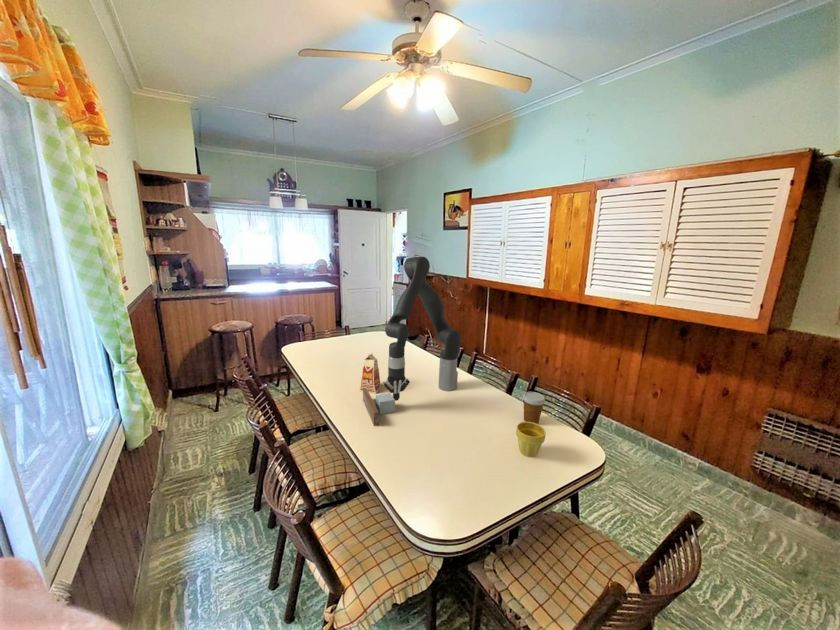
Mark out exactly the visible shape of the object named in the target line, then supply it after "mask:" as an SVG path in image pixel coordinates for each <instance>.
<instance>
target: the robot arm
mask: <svg viewBox="0 0 840 630" xmlns="http://www.w3.org/2000/svg"><path fill="white" fill-rule="evenodd" d="M430 267H431V266H430V261H429V260H428V258H427V257H425V256H412V257H409V258H406V259H405V261H404V262H403V268H404V272H405V274H406V277H407V278H408V279H409V281H410V282H409V284H408V286H407V287H406V289H405V290H404V291H403V292H402V293H401V295H400V297H399V298H398V300H397V301H398V302H397V303H396V307H395V310H394V312H393V314H392V315H391V317H390V319H389V320H388V321H387V323H386V324H385V327H384V328H385V330H384V331H385V335H386V336H387V337H388V338H393V339H397V340H396V341H393V342H391V343H390V344H389V346H388V360H387V361H388V365H387V367H388V368H387V370H388V371H387V372H388V373H387V377H386V381H383V382H382V384H383V386H384V387H385V388H386V390H387V391H388V392H389V393H390V394H392V396H393V398H394V399H395V402H396V401H399V399H400V397H401V396H400V395H401V394H400V393H402V392H404V391H405V390H406V388H407V387H408V385H409V384H410V380H409V378H407V377H406V376H405V375H406V373H405V372H406V367H405V366H406V360H405V359H406V358H405V347H406V344H407V339H408V337H409V331H410V330H409V326H408V325H407V324H405V323H401V321H404V320H408V319H409V318H410V317H411V313H412V310H413V307H414V304H415V301H416V299H417V296H418V297H419V299H420V300H421V303H422V305H423V307H424V309H425V311H426V314H427V315H428V318H429V319H430V321H431V323H432V324H433V327H434V329H435V332H436V335H437V338H438V340H439V341H440V342H441V344H444V345H445V347H444V349H443V350H441V351H440V352H439V367H438V388H439V389H440V390H442V391H446V392H451V391H453V390H455V389H457V388H458V379H459V378H458V375H459V372H458V370H457V368H458V367H457V366H458V355H459V352H460V347H461V336H462V335H461V333H460V331H459V330H458V329H456V328H452V327H451V326H449V324H448V322H447V320H446V317H445V305H444V303H443V299H442V297H441V296H440V294H439V292H438V291H436V289H435V288H434V287H432V285H430V284H429V283H428V281H427V280H426V279H427V276H428V274H429V271H430ZM389 385H391V387H392V388H391V387H390V386H389Z"/></svg>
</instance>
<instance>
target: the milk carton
mask: <svg viewBox="0 0 840 630" xmlns="http://www.w3.org/2000/svg"><path fill="white" fill-rule="evenodd" d="M378 363H379V362H378V358H376V357H375V355H373V352H371V353H369V354H368V355H367V357H365V359H364V362H363V366H362V372H361V373H362V375H361V380H360V386H359V389H358V392H361V391H362V392H361V393H363V389H364V388H367V389H368V391H369V394H373V395H374V394H376V395H377V393H378V391H379V390H380V388H381V377H380V369H379V364H378Z"/></svg>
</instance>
